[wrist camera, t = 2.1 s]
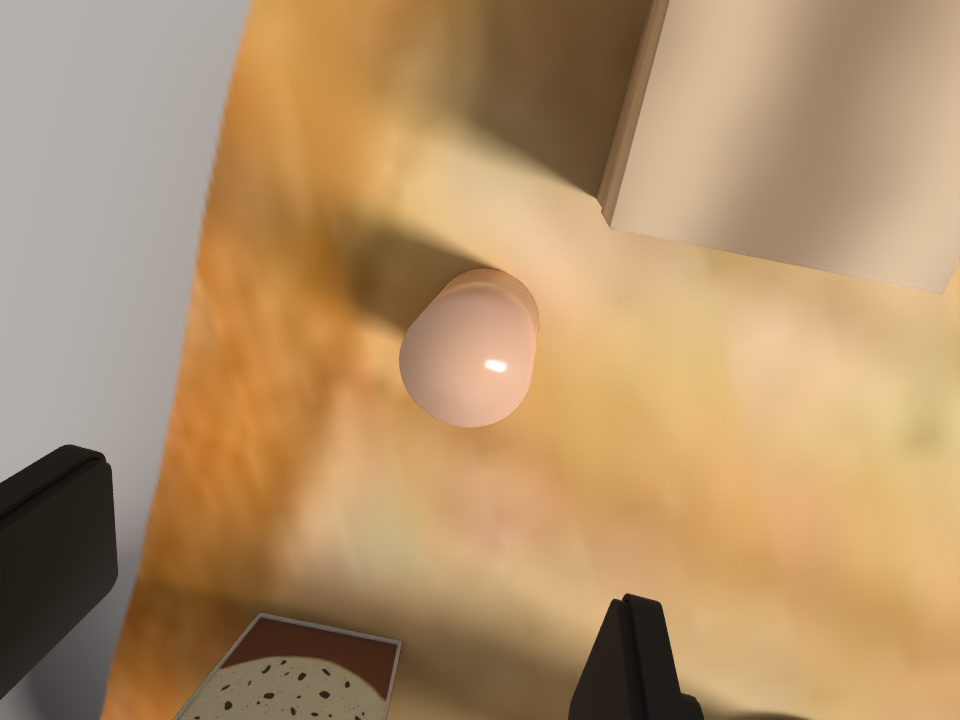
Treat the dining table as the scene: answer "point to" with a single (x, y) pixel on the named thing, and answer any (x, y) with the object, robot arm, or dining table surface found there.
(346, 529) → the dining table surface
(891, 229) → the tower top
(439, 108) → the dining table surface
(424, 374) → the pink rounded capsule
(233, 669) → the food container
